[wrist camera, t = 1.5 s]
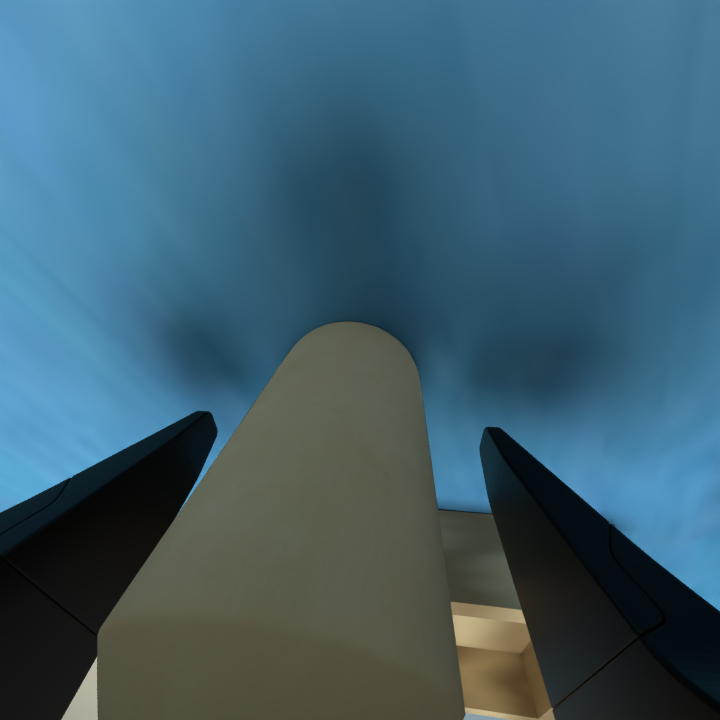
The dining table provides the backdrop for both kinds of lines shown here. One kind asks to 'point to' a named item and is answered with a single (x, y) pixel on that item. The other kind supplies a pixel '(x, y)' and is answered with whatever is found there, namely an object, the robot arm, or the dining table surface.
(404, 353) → the candle
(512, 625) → the box
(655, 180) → the dining table surface
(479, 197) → the dining table surface
